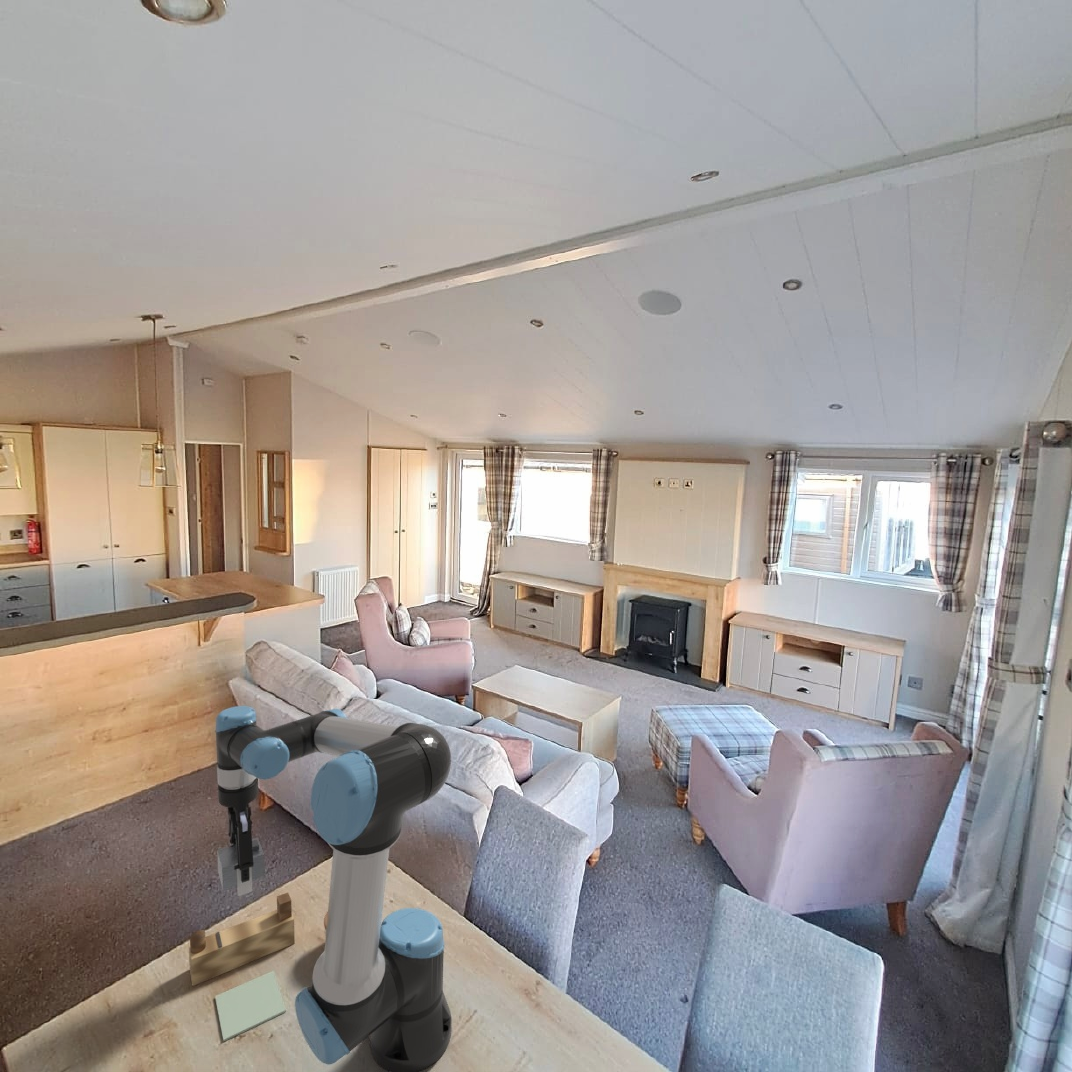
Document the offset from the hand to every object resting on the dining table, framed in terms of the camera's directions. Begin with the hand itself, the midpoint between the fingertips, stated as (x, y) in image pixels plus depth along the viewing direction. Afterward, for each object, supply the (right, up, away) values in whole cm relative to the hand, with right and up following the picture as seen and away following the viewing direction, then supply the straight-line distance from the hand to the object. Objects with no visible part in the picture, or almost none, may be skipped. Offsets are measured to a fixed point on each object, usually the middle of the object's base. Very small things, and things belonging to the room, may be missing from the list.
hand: (241, 882), depth 127 cm
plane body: (-1, -17, +2) cm, 18 cm away
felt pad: (+6, -19, -9) cm, 22 cm away
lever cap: (0, +2, 0) cm, 2 cm away
